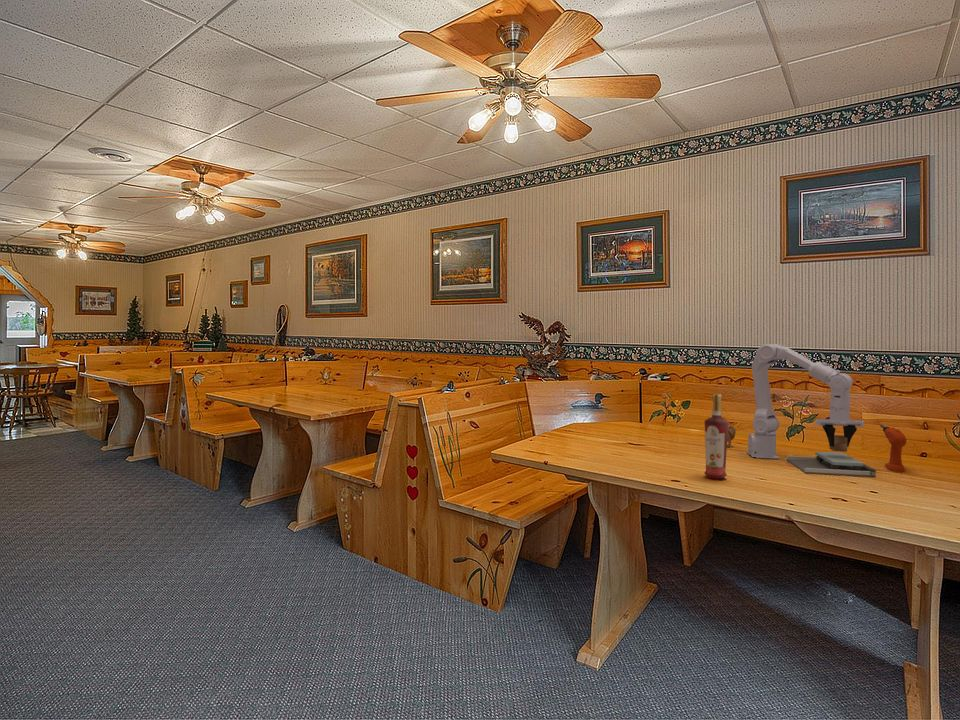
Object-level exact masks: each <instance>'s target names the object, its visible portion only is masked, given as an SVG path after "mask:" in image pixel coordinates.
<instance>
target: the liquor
mask: <svg viewBox="0 0 960 720" xmlns="http://www.w3.org/2000/svg"><path fill="white" fill-rule="evenodd" d="M721 403H722V394H721V393H712V413H711V417H708V418H707V419H706V420H704V443H705V444H704V445H705V471H704V472H703V473H704V474H705V476H707V478H708V479H710V480H711V479H712V480H723V479H724V478H726V476H728V475H727V473H726V468H727V466H726V465H727V449H728V441H727V440H728V426H730V423H729V421H728V420H727V419H725V418H722V417H723V416H722V405H721Z"/></svg>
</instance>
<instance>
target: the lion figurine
mask: <svg viewBox="0 0 960 720" xmlns="http://www.w3.org/2000/svg"><path fill="white" fill-rule="evenodd" d="M735 437H736V428H735V426H734V425H729V426H728V440H727V448H729V447H732V446H731V445H732V441H733V440H734V439H735Z"/></svg>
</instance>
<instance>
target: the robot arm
mask: <svg viewBox="0 0 960 720" xmlns="http://www.w3.org/2000/svg"><path fill="white" fill-rule="evenodd" d="M780 360H783V361H784V360H786V361H789V362H791V363H793V364H795V365H797V366H799V367H800V368H803V369H805V370H807V371H808V374H809V376H811V377H813V378H814V379H816V380H818V381H820V382H822V383H824V384H825V385H828V387H829V388H830V401H829V418H822V419H821V418H820V419H816V418H815V424H814V425H815V426H818V427H819V426H822V429H823V431H824V433H825V434H826V438H827V441H828V446H829V447H830V446H834V435H835V434H836V433H835V432H836V428H835V427H842V429H843V436H845V437H847V448H849V447H850V443H851V440H852V438H853V437H854V435H855V433H856V432H857V430H858V428H859V427H860V428H864V427H865V421H863V420H852V419H850V416H851V415H850V412H851V411H850V410H851V387H852V386H853V384H854V381H853V378H852V377H851V376H850V375H849V374H848V373H843V372H841V370H839V369H834V368H833V367H831V366H829V365H828V363H827V362H824V361H823V362H821V361H817V362H813V361H812V360H810V359H808V358H806V357H805V356H803V355H802V354H799V352H796V351H794V350H793V349H791V348H789V347H787V346H785V345H782V344H780V343H771V344H770V343H765V344H762V345H761V346H759V348H757V349H756V353H755V356H754V358H753V360H752V363H751V371H752V378H753V379H752V380H753V388H754V389H753V390H754V395H755V404H756V405H755V406H756V410H755V413H754V415H753V417H754V419H753V422H752V428H753V430H754V432H755V433H749V434H748V437H747V438H748V439H747V443H748V444H747V452H746V453H747V454H748V455H749V456H750V455H751V456H752V457H751V456H750V457H751V458H753V457H756V458H757V459H772V460H773V459H774V460H775V459H776V460H777V459H778V460H780V457H779V456H778V455H777V453H776V451H777V432H776V431H777V430H778V429H779V427H780V421H779V420H778V418H777V416H776V415H777V414H776V412H775V410H774V409H773V404H772V395H771V389H770V388H771V387H770V380H769V371H768V369H769V368H770V367H771V366H772V365H773V364H774V363H775V362H777V361H780ZM834 426H835V427H834ZM756 458H755V459H756Z"/></svg>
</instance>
